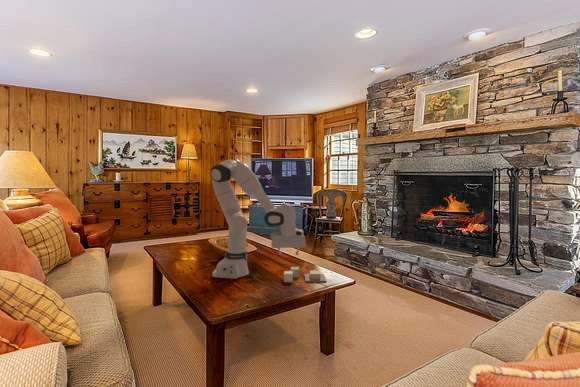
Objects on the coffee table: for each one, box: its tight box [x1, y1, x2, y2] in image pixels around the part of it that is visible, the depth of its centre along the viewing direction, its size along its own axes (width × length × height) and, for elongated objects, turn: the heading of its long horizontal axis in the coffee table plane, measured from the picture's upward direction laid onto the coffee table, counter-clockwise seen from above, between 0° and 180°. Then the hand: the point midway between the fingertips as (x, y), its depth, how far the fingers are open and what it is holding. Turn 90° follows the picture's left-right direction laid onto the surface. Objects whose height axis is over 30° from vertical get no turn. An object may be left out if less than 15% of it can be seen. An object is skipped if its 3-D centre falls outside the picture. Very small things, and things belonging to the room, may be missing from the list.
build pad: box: [303, 270, 327, 283], centre depth 184 cm, size 12×12×4 cm
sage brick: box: [290, 266, 300, 278], centre depth 189 cm, size 5×5×5 cm
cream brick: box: [283, 270, 294, 283], centre depth 181 cm, size 5×5×5 cm
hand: (288, 254), depth 180 cm, fingers open, 8 cm apart
